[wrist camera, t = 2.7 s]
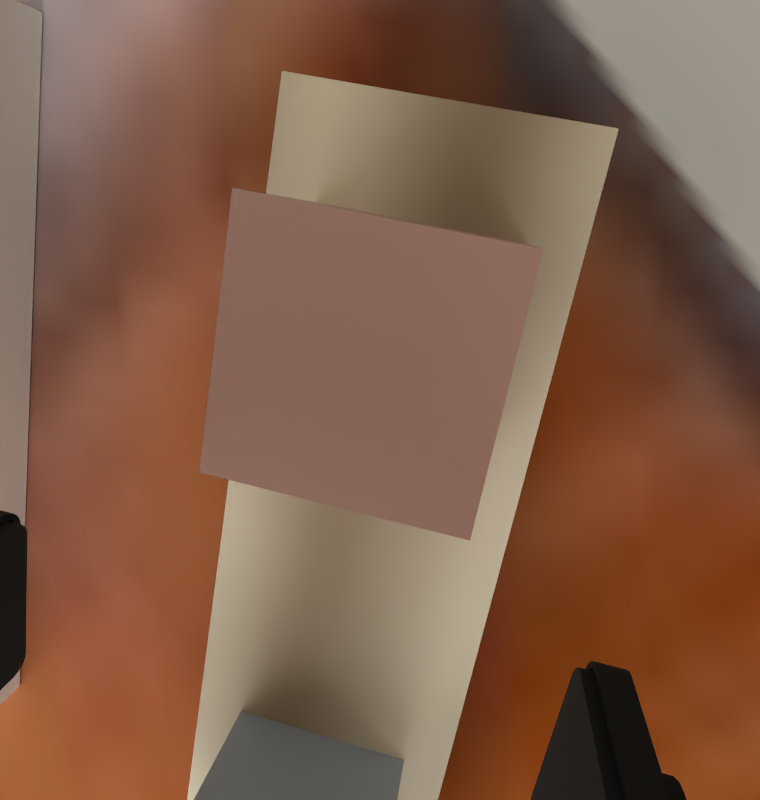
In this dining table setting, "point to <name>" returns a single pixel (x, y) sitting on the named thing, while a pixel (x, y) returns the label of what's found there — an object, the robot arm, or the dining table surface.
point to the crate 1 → (363, 358)
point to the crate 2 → (296, 766)
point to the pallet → (371, 536)
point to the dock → (17, 245)
